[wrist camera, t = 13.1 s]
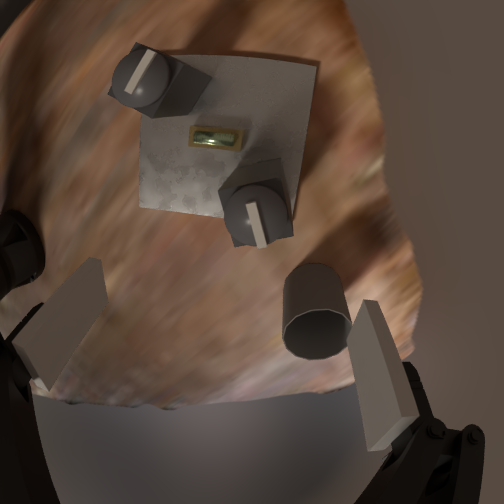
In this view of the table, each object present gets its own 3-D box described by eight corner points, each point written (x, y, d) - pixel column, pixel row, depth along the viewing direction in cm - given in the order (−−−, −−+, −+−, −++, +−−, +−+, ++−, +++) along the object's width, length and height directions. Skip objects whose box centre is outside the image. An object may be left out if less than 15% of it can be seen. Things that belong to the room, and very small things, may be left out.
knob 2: (235, 168, 33) (213, 195, 23) (280, 158, 32) (280, 180, 22) (247, 210, 35) (232, 254, 25) (290, 201, 34) (294, 243, 24)
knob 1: (187, 115, 30) (144, 119, 20) (152, 95, 29) (98, 94, 19) (212, 76, 28) (178, 61, 18) (174, 57, 27) (128, 39, 17)
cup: (271, 285, 41) (267, 333, 32) (317, 251, 38) (325, 295, 29) (308, 319, 44) (311, 368, 35) (351, 290, 40) (365, 337, 32)
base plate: (142, 204, 37) (139, 206, 36) (150, 57, 28) (147, 56, 27) (289, 225, 37) (289, 228, 36) (315, 67, 27) (316, 66, 26)
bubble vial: (192, 144, 32) (185, 147, 30) (193, 125, 31) (186, 126, 29) (242, 149, 32) (238, 152, 30) (244, 129, 31) (241, 131, 29)
